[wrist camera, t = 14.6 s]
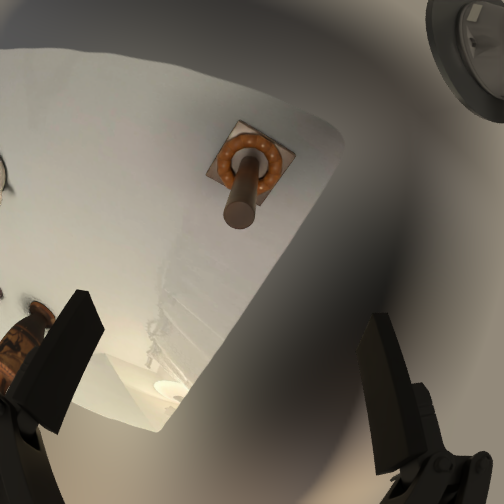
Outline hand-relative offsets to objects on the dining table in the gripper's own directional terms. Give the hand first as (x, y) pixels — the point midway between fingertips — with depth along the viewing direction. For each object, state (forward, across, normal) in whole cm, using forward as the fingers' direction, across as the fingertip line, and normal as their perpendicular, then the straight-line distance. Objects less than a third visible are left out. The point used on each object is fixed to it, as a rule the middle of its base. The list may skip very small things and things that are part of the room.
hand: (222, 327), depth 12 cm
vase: (+26, -50, -35) cm, 67 cm away
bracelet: (+24, 0, 0) cm, 24 cm away
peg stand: (+26, 0, 0) cm, 26 cm away
